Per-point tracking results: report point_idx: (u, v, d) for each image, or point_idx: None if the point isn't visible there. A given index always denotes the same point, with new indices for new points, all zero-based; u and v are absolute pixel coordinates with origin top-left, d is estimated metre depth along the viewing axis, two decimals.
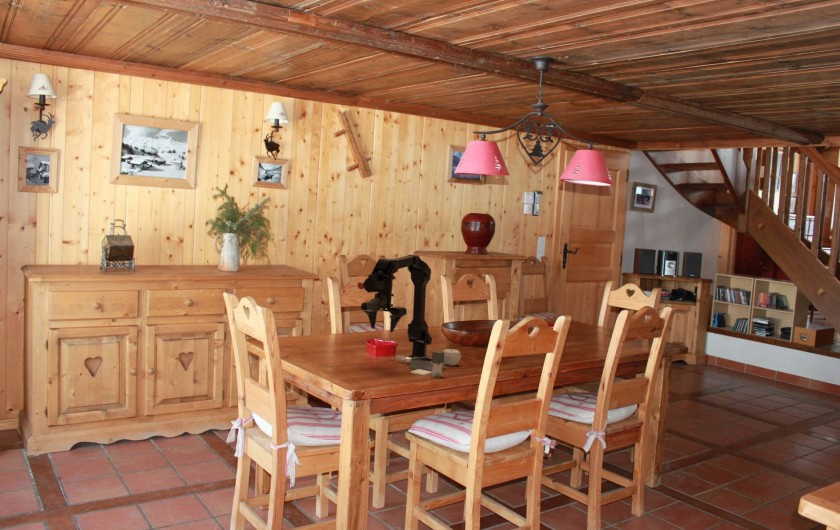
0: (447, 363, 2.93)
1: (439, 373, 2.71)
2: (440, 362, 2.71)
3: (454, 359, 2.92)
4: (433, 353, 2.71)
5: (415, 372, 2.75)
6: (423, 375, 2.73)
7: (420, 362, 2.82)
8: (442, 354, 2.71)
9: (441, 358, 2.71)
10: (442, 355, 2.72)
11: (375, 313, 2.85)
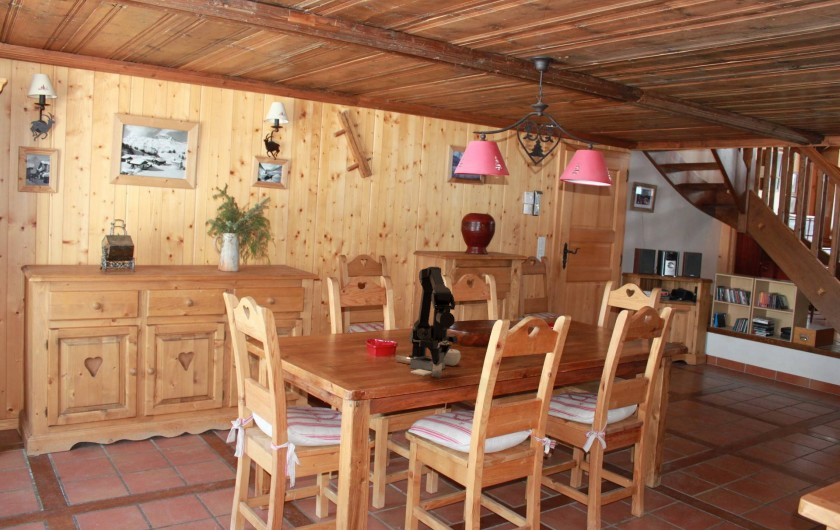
0: (447, 363, 2.93)
1: (439, 373, 2.71)
2: (440, 362, 2.71)
3: (454, 359, 2.92)
4: None
5: (415, 372, 2.75)
6: (423, 375, 2.73)
7: (420, 362, 2.82)
8: (442, 354, 2.71)
9: (441, 358, 2.71)
10: (442, 355, 2.72)
11: (445, 348, 2.73)
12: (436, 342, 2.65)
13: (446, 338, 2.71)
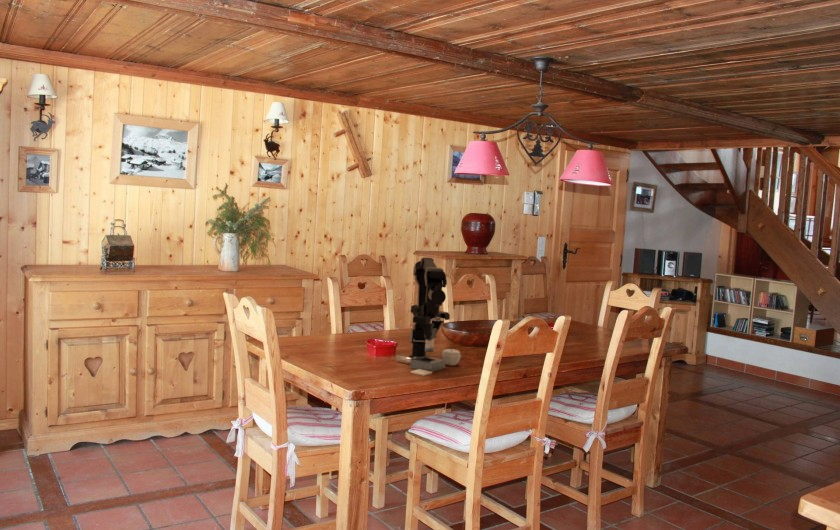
0: (447, 363, 2.93)
1: (431, 348, 2.83)
2: (432, 337, 2.83)
3: (454, 359, 2.92)
4: None
5: (415, 372, 2.75)
6: (423, 375, 2.73)
7: (420, 362, 2.82)
8: (434, 330, 2.83)
9: (433, 333, 2.83)
10: (434, 331, 2.83)
11: (437, 324, 2.85)
12: (428, 318, 2.76)
13: (438, 314, 2.82)
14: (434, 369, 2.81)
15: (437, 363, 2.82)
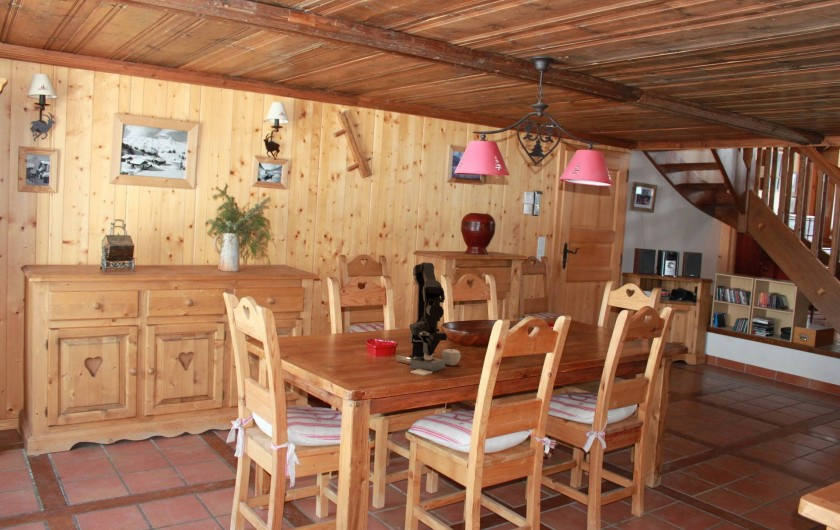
0: (447, 363, 2.93)
1: None
2: None
3: (454, 359, 2.92)
4: (428, 345, 2.83)
5: (415, 372, 2.75)
6: (423, 375, 2.73)
7: (420, 362, 2.82)
8: None
9: None
10: None
11: None
12: None
13: None
14: (434, 369, 2.81)
15: (437, 363, 2.82)
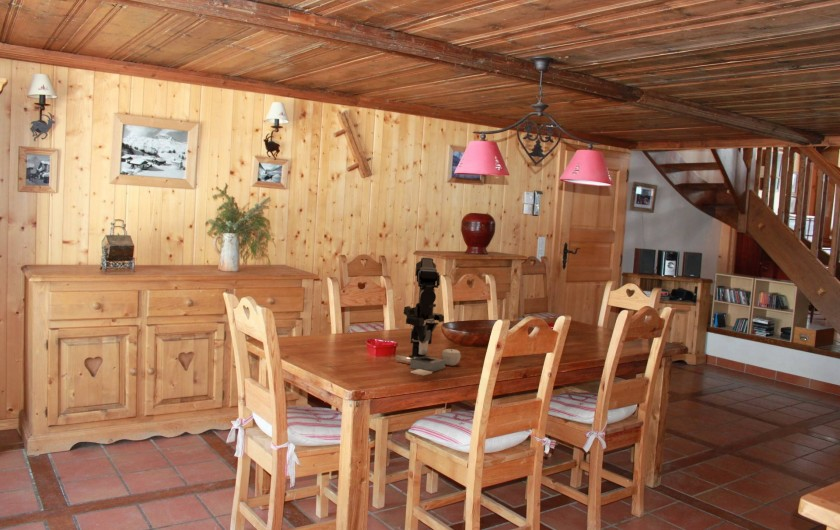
0: (447, 363, 2.93)
1: (425, 350, 2.75)
2: (426, 339, 2.74)
3: (454, 359, 2.92)
4: None
5: (415, 372, 2.75)
6: (423, 375, 2.73)
7: (420, 362, 2.82)
8: (428, 332, 2.75)
9: (427, 335, 2.74)
10: (428, 333, 2.75)
11: (431, 326, 2.76)
12: (422, 319, 2.68)
13: (432, 316, 2.74)
14: (434, 369, 2.81)
15: (437, 363, 2.82)
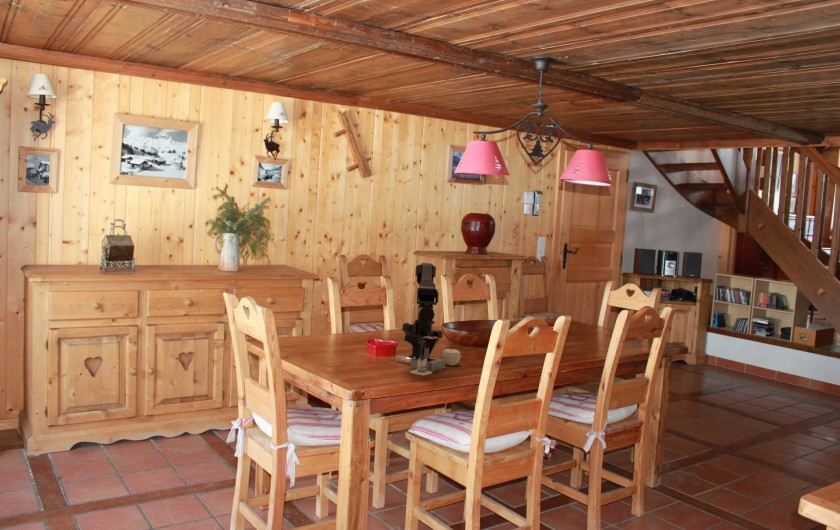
0: (447, 363, 2.93)
1: (424, 368, 2.75)
2: (425, 357, 2.75)
3: (454, 359, 2.92)
4: None
5: (415, 372, 2.75)
6: (423, 375, 2.73)
7: None
8: (427, 349, 2.75)
9: (426, 353, 2.75)
10: (427, 350, 2.75)
11: (432, 342, 2.78)
12: (420, 336, 2.69)
13: (431, 333, 2.74)
14: (434, 369, 2.81)
15: (437, 363, 2.82)
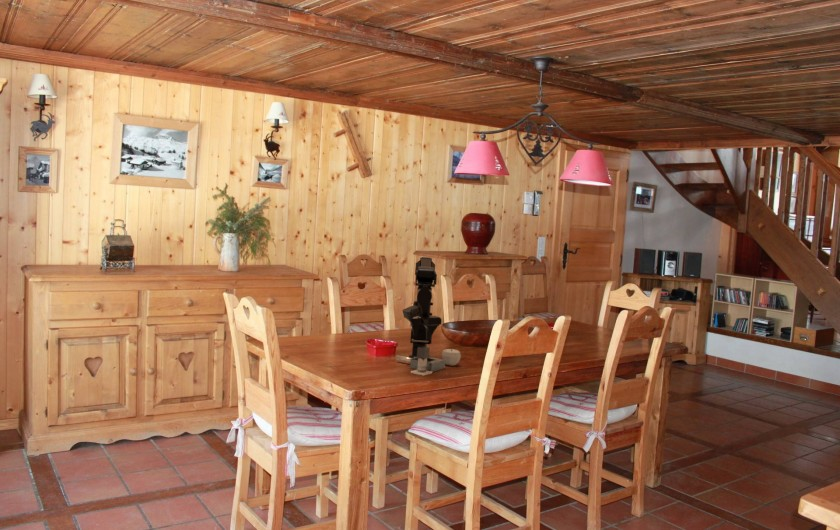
0: (447, 363, 2.93)
1: (424, 368, 2.75)
2: (425, 357, 2.75)
3: (454, 359, 2.92)
4: (418, 348, 2.75)
5: (415, 372, 2.75)
6: (423, 375, 2.73)
7: None
8: (427, 349, 2.75)
9: (426, 353, 2.75)
10: (427, 350, 2.75)
11: (418, 321, 2.87)
12: None
13: None
14: (434, 369, 2.81)
15: (437, 363, 2.82)
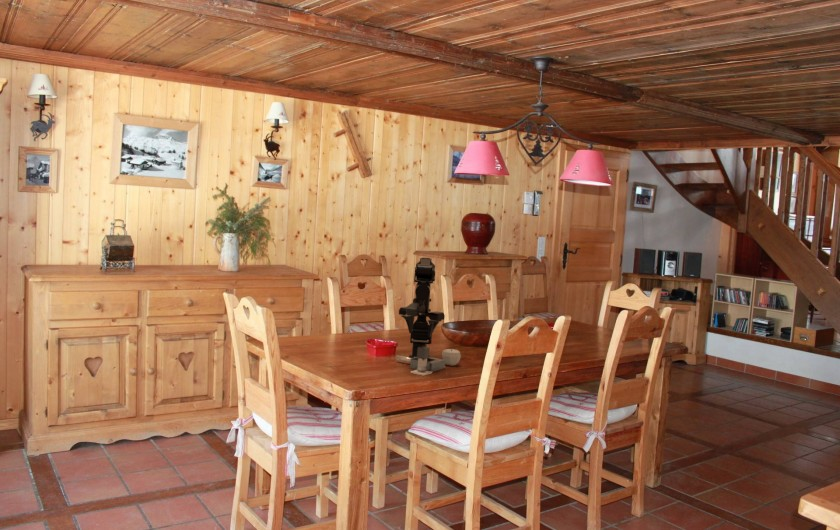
0: (447, 363, 2.93)
1: (424, 368, 2.75)
2: (425, 357, 2.75)
3: (454, 359, 2.92)
4: (418, 348, 2.75)
5: (415, 372, 2.75)
6: (423, 375, 2.73)
7: None
8: (427, 350, 2.75)
9: (426, 353, 2.75)
10: (427, 350, 2.75)
11: (412, 318, 2.90)
12: None
13: None
14: (434, 369, 2.81)
15: (437, 363, 2.82)
